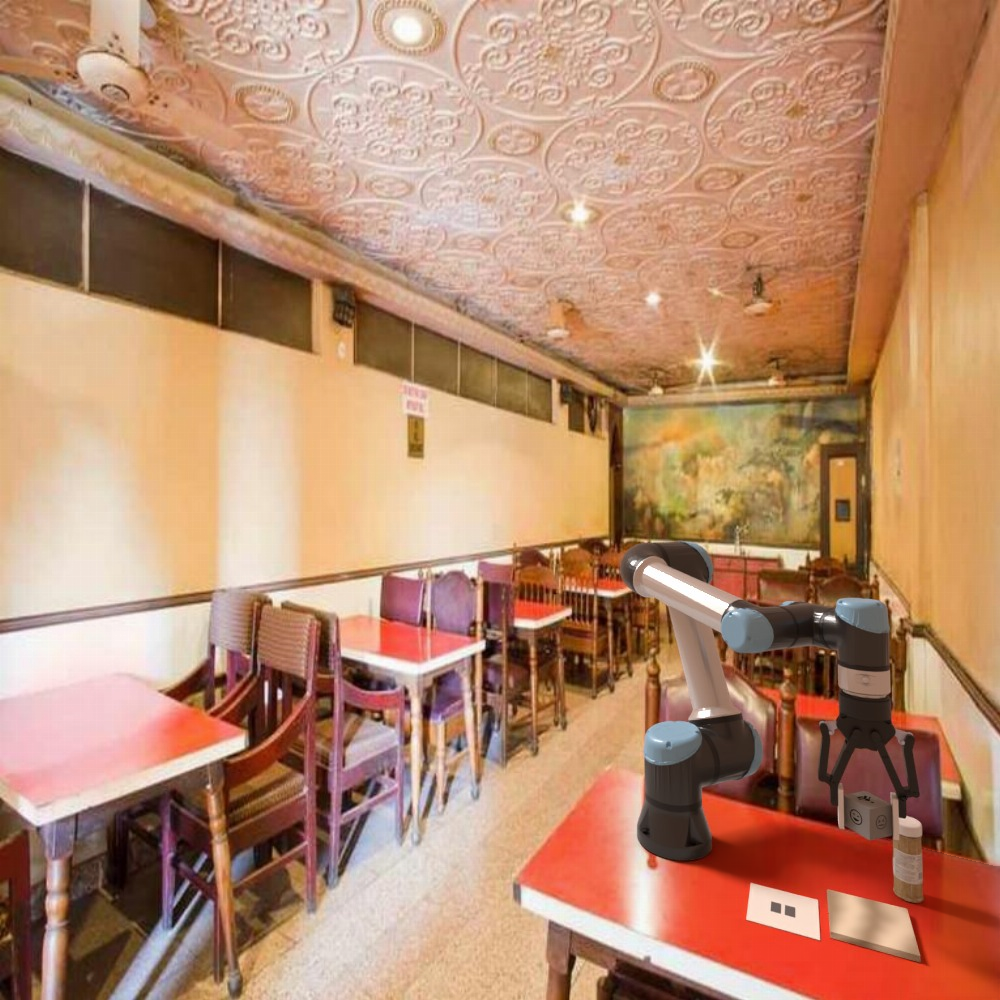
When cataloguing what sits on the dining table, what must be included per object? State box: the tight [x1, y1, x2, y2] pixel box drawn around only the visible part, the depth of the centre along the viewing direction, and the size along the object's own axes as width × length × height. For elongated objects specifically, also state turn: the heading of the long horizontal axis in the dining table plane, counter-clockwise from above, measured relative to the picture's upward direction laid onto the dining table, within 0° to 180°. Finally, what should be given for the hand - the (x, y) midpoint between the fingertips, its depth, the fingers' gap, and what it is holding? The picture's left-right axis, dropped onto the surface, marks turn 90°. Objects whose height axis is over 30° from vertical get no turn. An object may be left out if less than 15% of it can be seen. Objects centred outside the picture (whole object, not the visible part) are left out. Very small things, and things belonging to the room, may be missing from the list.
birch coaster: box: [826, 888, 922, 963], centre depth 97 cm, size 12×12×1 cm
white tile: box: [745, 882, 821, 941], centre depth 102 cm, size 11×11×1 cm
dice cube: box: [843, 790, 893, 841], centre depth 98 cm, size 5×5×5 cm
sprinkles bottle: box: [892, 815, 925, 904], centre depth 105 cm, size 5×5×14 cm
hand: (867, 830), depth 98 cm, fingers closed on dice cube, 7 cm apart
